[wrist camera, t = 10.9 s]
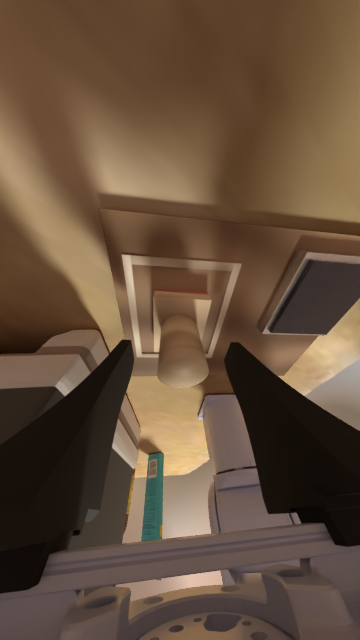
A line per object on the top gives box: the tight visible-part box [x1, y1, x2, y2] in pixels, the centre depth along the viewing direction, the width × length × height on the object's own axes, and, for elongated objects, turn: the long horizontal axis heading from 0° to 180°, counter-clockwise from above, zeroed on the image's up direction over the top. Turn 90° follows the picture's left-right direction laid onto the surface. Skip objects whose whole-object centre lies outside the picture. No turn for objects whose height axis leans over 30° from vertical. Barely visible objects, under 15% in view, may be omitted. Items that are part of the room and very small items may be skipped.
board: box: [99, 208, 360, 376], centre depth 15 cm, size 18×22×1 cm
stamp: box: [153, 289, 212, 388], centre depth 11 cm, size 6×4×6 cm
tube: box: [141, 453, 164, 580], centre depth 37 cm, size 7×5×19 cm, turn 140°
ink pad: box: [257, 250, 360, 336], centre depth 12 cm, size 8×7×1 cm
